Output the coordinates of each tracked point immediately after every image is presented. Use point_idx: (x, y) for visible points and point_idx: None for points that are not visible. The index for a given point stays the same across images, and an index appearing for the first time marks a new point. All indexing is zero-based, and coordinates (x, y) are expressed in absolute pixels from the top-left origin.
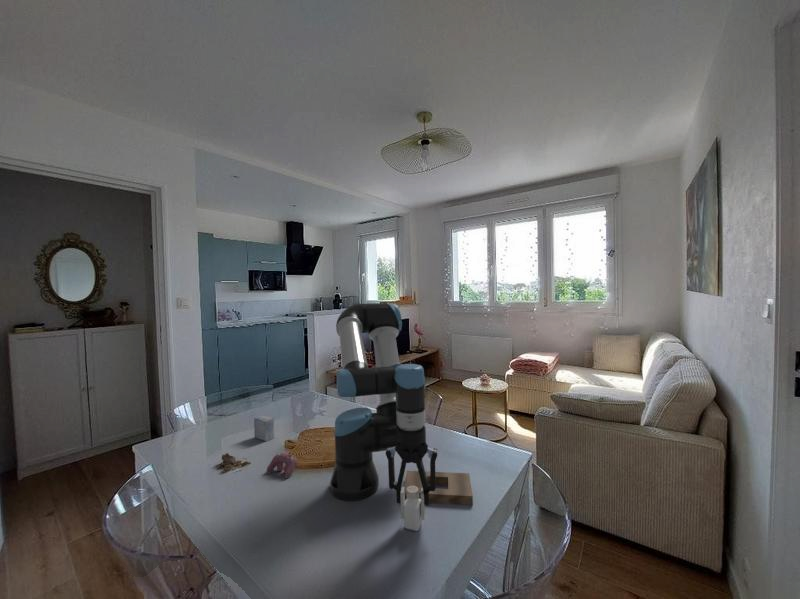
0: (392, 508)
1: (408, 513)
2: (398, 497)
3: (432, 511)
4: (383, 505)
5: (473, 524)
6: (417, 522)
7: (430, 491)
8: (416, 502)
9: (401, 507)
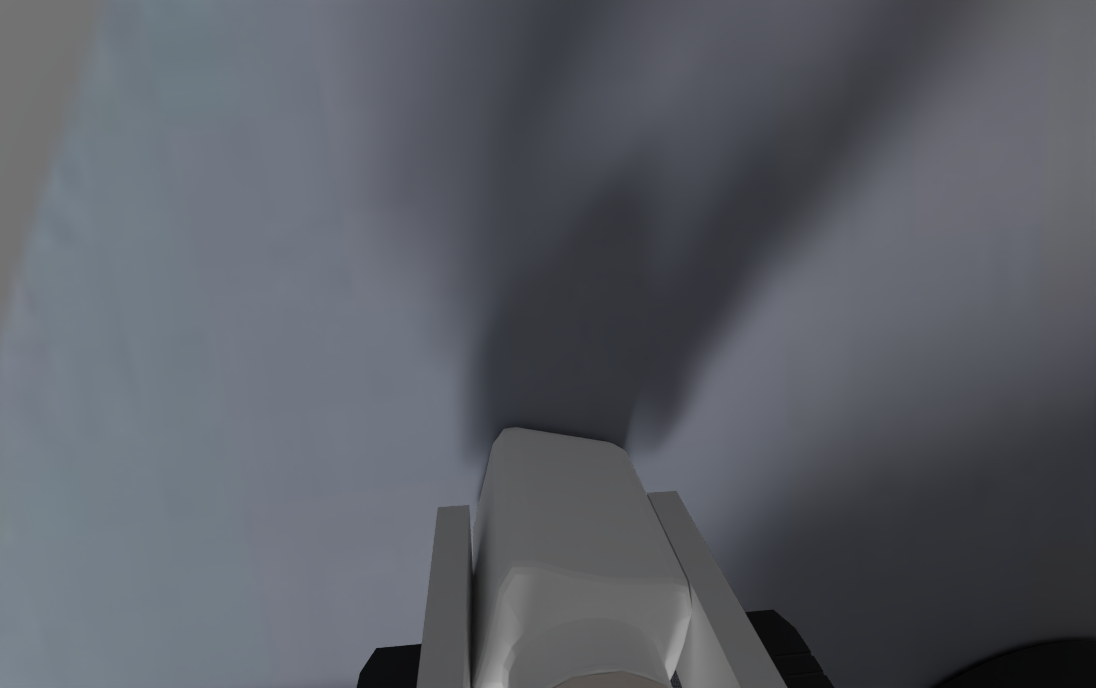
0: None
1: (613, 521)
2: (795, 677)
3: None
4: None
5: (10, 579)
6: (505, 466)
7: None
8: (531, 649)
9: (710, 567)
